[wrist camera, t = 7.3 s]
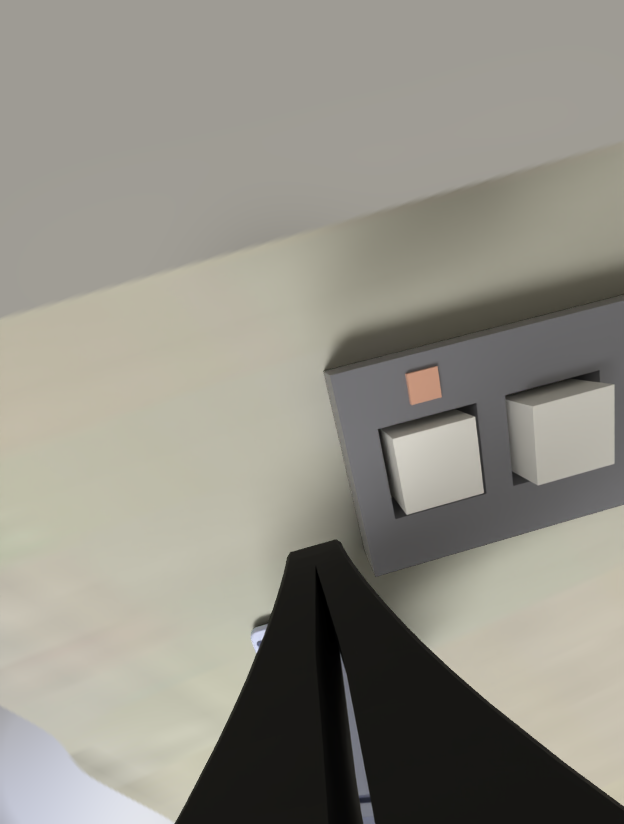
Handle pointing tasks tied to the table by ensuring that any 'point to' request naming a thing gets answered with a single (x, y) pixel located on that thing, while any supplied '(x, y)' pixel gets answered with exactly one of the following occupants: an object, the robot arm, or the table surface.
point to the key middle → (561, 429)
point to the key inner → (432, 460)
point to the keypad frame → (485, 400)
